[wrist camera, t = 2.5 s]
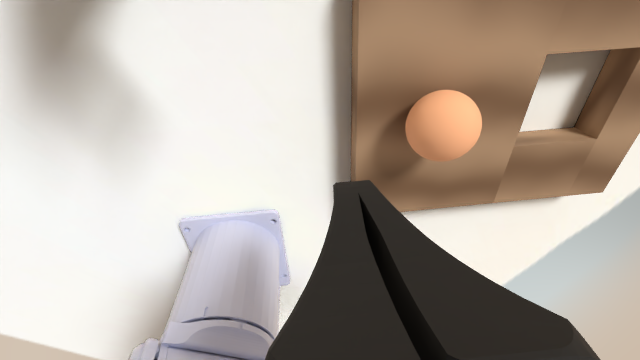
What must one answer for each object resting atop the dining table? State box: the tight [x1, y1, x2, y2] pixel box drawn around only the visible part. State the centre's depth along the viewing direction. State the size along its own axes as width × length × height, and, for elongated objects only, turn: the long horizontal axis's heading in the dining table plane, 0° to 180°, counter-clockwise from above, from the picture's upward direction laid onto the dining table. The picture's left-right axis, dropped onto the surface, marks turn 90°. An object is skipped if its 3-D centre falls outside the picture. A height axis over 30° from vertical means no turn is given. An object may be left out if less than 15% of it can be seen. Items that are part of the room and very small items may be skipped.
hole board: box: [351, 0, 640, 212], centre depth 19 cm, size 16×20×2 cm
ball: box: [405, 90, 482, 162], centre depth 17 cm, size 4×4×4 cm
